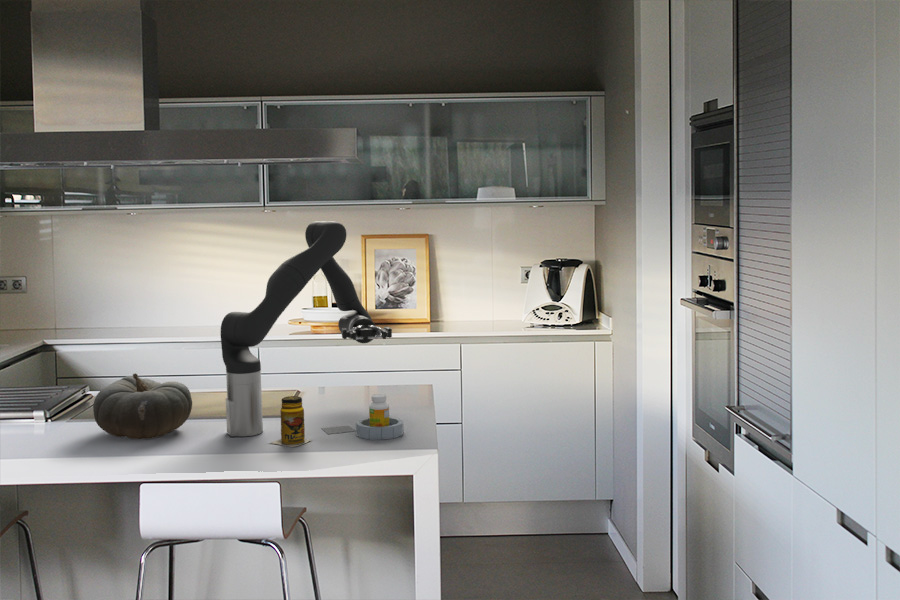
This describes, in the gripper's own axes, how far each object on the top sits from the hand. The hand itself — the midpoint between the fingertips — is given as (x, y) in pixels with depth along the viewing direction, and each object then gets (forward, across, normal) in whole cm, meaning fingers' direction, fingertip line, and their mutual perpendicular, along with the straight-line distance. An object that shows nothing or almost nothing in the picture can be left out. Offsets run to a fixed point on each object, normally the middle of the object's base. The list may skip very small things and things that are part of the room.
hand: (369, 335), depth 242 cm
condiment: (+14, -23, +26) cm, 38 cm away
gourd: (-7, -61, +26) cm, 67 cm away
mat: (+5, -10, +25) cm, 28 cm away
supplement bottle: (+12, +1, +25) cm, 27 cm away
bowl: (+12, +1, +25) cm, 28 cm away
